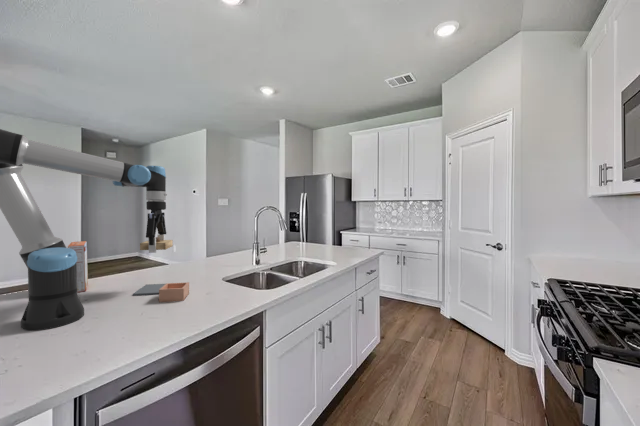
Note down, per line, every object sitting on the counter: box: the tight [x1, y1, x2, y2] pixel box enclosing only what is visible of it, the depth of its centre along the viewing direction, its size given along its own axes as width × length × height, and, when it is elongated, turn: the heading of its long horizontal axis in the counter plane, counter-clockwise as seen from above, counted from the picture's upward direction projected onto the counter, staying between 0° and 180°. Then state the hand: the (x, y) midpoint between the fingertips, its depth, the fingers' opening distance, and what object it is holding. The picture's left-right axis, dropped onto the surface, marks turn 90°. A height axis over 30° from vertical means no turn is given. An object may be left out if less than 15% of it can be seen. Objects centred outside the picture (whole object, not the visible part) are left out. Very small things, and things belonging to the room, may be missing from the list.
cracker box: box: [67, 240, 89, 293], centre depth 126 cm, size 14×6×21 cm, turn 37°
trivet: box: [132, 283, 166, 297], centre depth 126 cm, size 14×14×1 cm
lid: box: [139, 236, 174, 251], centre depth 126 cm, size 10×10×5 cm
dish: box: [158, 281, 190, 303], centre depth 116 cm, size 9×9×5 cm
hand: (156, 250), depth 126 cm, fingers closed on lid, 10 cm apart
